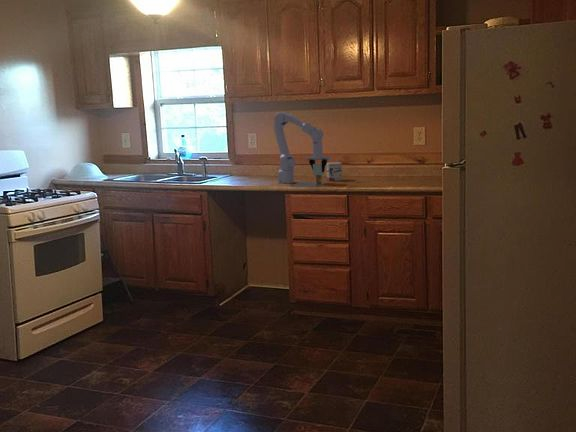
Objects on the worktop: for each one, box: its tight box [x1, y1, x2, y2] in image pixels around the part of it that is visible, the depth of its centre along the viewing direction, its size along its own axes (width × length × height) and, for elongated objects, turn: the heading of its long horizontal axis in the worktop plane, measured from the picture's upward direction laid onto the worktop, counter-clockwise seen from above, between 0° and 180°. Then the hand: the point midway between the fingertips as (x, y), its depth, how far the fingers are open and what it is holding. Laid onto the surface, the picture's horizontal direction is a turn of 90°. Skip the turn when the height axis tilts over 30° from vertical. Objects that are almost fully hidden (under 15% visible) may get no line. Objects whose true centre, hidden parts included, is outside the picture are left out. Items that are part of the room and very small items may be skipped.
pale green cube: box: [312, 162, 325, 176], centre depth 396 cm, size 5×5×7 cm
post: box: [315, 175, 323, 183], centre depth 397 cm, size 3×3×5 cm
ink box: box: [326, 161, 343, 182], centre depth 407 cm, size 9×5×12 cm, turn 101°
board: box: [289, 181, 328, 188], centre depth 395 cm, size 18×20×1 cm
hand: (318, 172), depth 397 cm, fingers closed on pale green cube, 5 cm apart
